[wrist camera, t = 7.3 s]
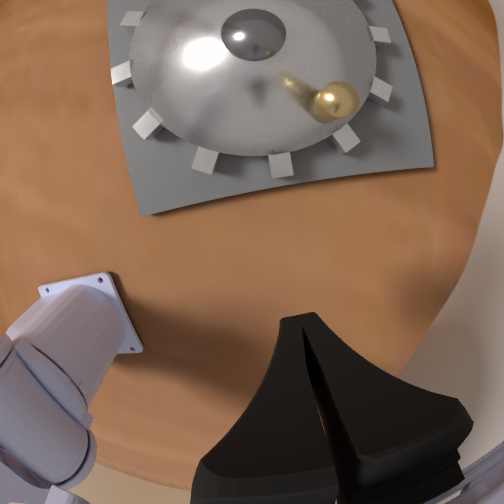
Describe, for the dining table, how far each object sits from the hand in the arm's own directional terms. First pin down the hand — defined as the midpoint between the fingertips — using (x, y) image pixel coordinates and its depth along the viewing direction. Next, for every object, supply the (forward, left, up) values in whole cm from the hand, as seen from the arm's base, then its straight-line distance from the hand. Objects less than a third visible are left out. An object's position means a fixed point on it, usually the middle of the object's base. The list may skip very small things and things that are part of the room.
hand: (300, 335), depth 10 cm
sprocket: (+1, +14, -8) cm, 16 cm away
